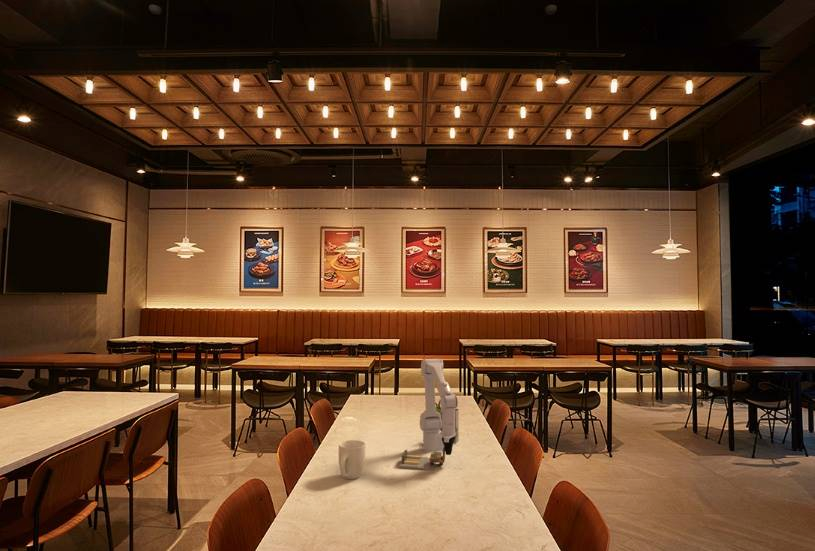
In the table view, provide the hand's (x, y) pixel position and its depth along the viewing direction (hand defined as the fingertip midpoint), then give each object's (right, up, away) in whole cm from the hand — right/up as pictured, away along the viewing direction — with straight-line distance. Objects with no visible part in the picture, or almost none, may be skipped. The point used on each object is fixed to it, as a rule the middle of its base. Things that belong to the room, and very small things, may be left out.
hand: (448, 454), depth 196 cm
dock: (-13, -5, +2) cm, 14 cm away
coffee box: (+4, -8, +36) cm, 37 cm away
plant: (+2, -11, +87) cm, 88 cm away
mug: (-41, -4, -14) cm, 44 cm away
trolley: (-5, -4, +1) cm, 7 cm away
